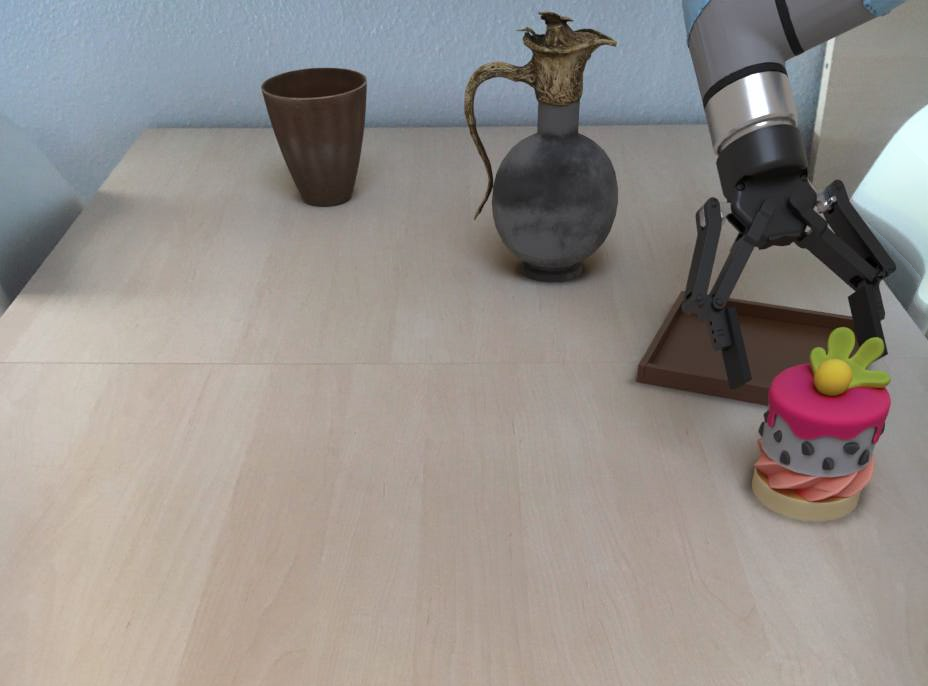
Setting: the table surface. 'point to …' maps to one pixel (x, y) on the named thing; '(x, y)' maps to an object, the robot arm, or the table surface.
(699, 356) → the tray
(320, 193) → the flower pot
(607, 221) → the pitcher
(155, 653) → the table surface
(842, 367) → the cake
